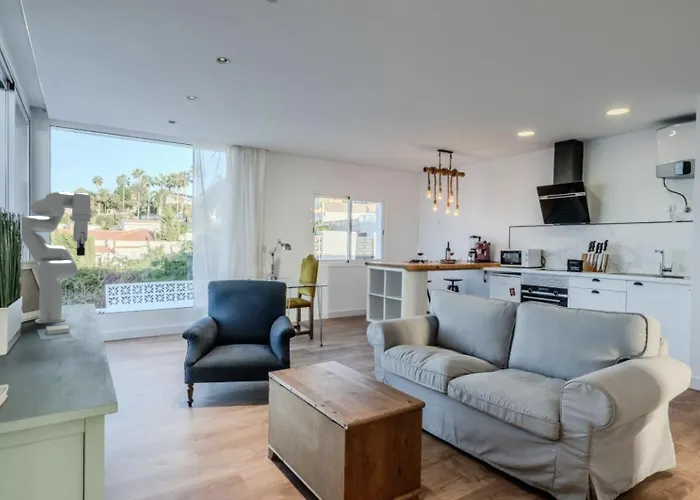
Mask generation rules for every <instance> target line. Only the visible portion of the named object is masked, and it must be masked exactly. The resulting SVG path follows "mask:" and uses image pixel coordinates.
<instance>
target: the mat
mask: <svg viewBox="0 0 700 500" xmlns="http://www.w3.org/2000/svg"><path fill="white" fill-rule="evenodd" d="M36 331H37V333H38V335H39V338H40V340H41V341H45V340H48V341H51V340H55V339H58V340H59V339H64V338H66V339H69V338H73V336H72V334H71V333H70V332H69V333H59V334H50V335H48V334H47V332H46V328H40V329H36Z"/></svg>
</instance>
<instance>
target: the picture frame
mask: <svg viewBox="0 0 700 500" xmlns="http://www.w3.org/2000/svg"><path fill="white" fill-rule="evenodd" d="M45 329H46V332H47V334H48V335H50V334H59V333H70V330H71V329H70V326H69V325H68V324H61V325H59V324H58V325H50V326H45Z"/></svg>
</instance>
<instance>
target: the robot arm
mask: <svg viewBox="0 0 700 500" xmlns="http://www.w3.org/2000/svg"><path fill="white" fill-rule="evenodd" d="M91 201H92V200H91V195H90V194H87V193H81V192H76V193H72V192H64V191H63V192H62V191H56V192H51V193H50V192H49V193H47V194H46V195H45V197H44V198H41V199H37V200H35V201H33V202H32V203H31V205H30V210H31V212H32V213H33V214H35V215H33V216H32V215H25V216H21V217H22V233H23V241H22V242H23V243H24V245H26V247H27V249H28V251H29V253H30V255H31V257H32V258H33V260H34V261H35V262H36V263H37V264H38V265H37V268H36V269H37V270H36V271H37V276H38V283H39V285H38V287H39V291H38V292H39V296H38V297H39V302H38V305H39V306H38V307H39V312H38V314H39V315H38V318H36V319H35V323H36V324H55V323H61V322H65V321H66V318H65V317H63V315H62V313H63V311H62V308H63V306H62V305H63V288H62V284H61V283H60V281H59V280H60V279H70V278H74V277H75V276H77V274H78V266H77V263H76V261H75V260H74V259H73V256H72V255H71V253H70V252H69V250H68V249H67V248H66V247H64V246H63V245H49V244H48V243H47V241H46V239H44V237H43V236H41V235H40V234H38V233H53V232H55V231H56V230H57V228H58V225H59V224H60V223H61V221H62V218H63V216H64V214H65V210H66V209H72V210H71V221H72V222H74V223H73V234H72V235H73V236H72V237H73V239H72V240H73V242H76V256H78V257H79V256H80V257H83V256H84V257H85V255H86V254H85V253H86V246H85V245H86V244H85V243H86V242H87V241H88V229H89V227H88V223H91ZM58 279H59V280H58Z"/></svg>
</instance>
